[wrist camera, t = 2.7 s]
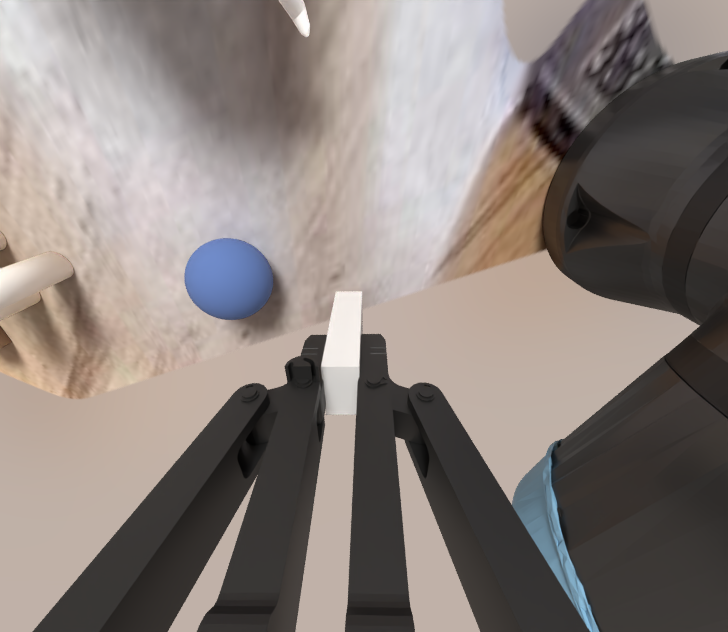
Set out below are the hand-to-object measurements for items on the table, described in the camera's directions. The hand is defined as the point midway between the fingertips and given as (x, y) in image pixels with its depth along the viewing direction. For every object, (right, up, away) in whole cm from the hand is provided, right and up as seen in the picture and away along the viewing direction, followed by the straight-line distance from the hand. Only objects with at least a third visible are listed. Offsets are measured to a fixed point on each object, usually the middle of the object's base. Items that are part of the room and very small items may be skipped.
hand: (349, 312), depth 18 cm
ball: (-9, +3, +5) cm, 10 cm away
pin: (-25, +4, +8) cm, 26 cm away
